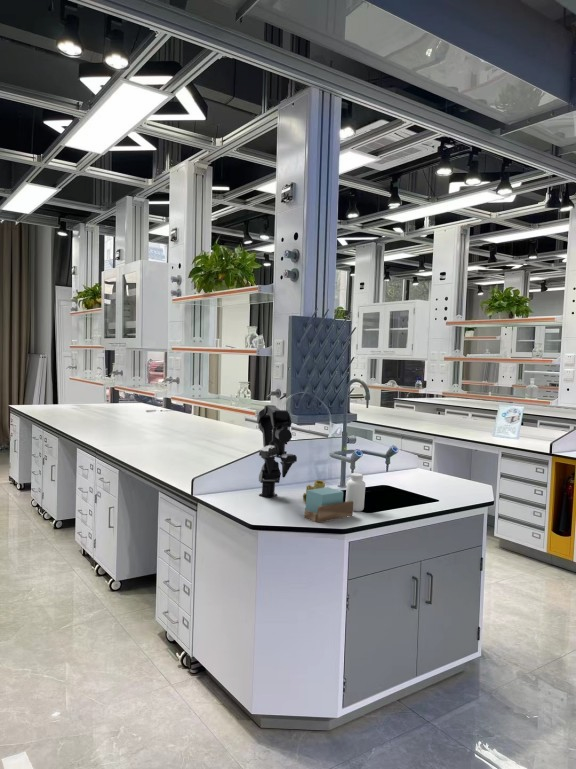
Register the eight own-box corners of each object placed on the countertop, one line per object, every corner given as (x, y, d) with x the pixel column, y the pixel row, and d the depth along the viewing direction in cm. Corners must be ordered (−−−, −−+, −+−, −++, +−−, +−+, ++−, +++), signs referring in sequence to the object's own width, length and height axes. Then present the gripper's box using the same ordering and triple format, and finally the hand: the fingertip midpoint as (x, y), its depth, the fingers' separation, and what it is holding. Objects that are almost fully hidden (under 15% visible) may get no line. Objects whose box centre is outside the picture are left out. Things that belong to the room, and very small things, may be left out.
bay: (304, 518, 223) (305, 502, 223) (339, 511, 237) (340, 497, 237) (317, 522, 218) (318, 507, 217) (353, 515, 231) (354, 501, 231)
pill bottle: (349, 511, 237) (351, 476, 237) (342, 506, 245) (344, 472, 244) (366, 511, 240) (369, 476, 239) (359, 506, 247) (361, 472, 247)
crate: (305, 514, 229) (306, 490, 229) (326, 510, 237) (327, 487, 236) (320, 520, 222) (322, 495, 222) (341, 516, 230) (343, 491, 230)
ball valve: (332, 504, 251) (321, 496, 259) (334, 482, 249) (323, 475, 257) (307, 508, 245) (296, 499, 253) (309, 486, 243) (298, 478, 251)
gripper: (250, 436, 244) (248, 472, 245) (278, 443, 231) (276, 481, 231) (270, 435, 252) (268, 470, 252) (298, 442, 238) (296, 478, 239)
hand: (276, 475), depth 243 cm, fingers open, 9 cm apart
